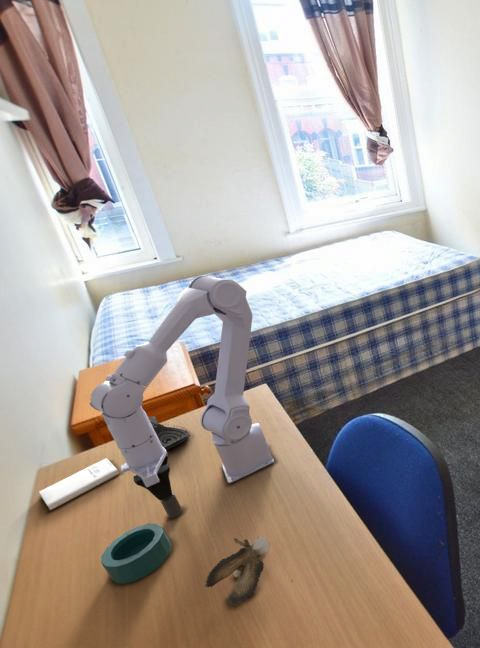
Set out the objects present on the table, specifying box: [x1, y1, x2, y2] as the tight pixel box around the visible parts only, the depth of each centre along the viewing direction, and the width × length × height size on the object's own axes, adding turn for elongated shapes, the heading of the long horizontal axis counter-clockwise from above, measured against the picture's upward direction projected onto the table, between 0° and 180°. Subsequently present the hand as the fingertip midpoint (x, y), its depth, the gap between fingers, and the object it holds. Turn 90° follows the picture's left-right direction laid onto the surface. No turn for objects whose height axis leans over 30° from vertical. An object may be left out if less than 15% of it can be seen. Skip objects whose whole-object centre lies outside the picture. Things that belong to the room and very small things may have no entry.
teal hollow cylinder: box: [100, 523, 172, 584], centre depth 84 cm, size 9×9×4 cm
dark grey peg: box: [160, 492, 183, 519], centre depth 93 cm, size 2×2×11 cm
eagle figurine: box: [204, 536, 271, 606], centre depth 79 cm, size 8×7×9 cm
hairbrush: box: [147, 416, 191, 451], centre depth 120 cm, size 8×4×25 cm
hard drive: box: [38, 457, 120, 511], centre depth 106 cm, size 2×8×12 cm
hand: (165, 493), depth 93 cm, fingers closed on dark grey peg, 2 cm apart
